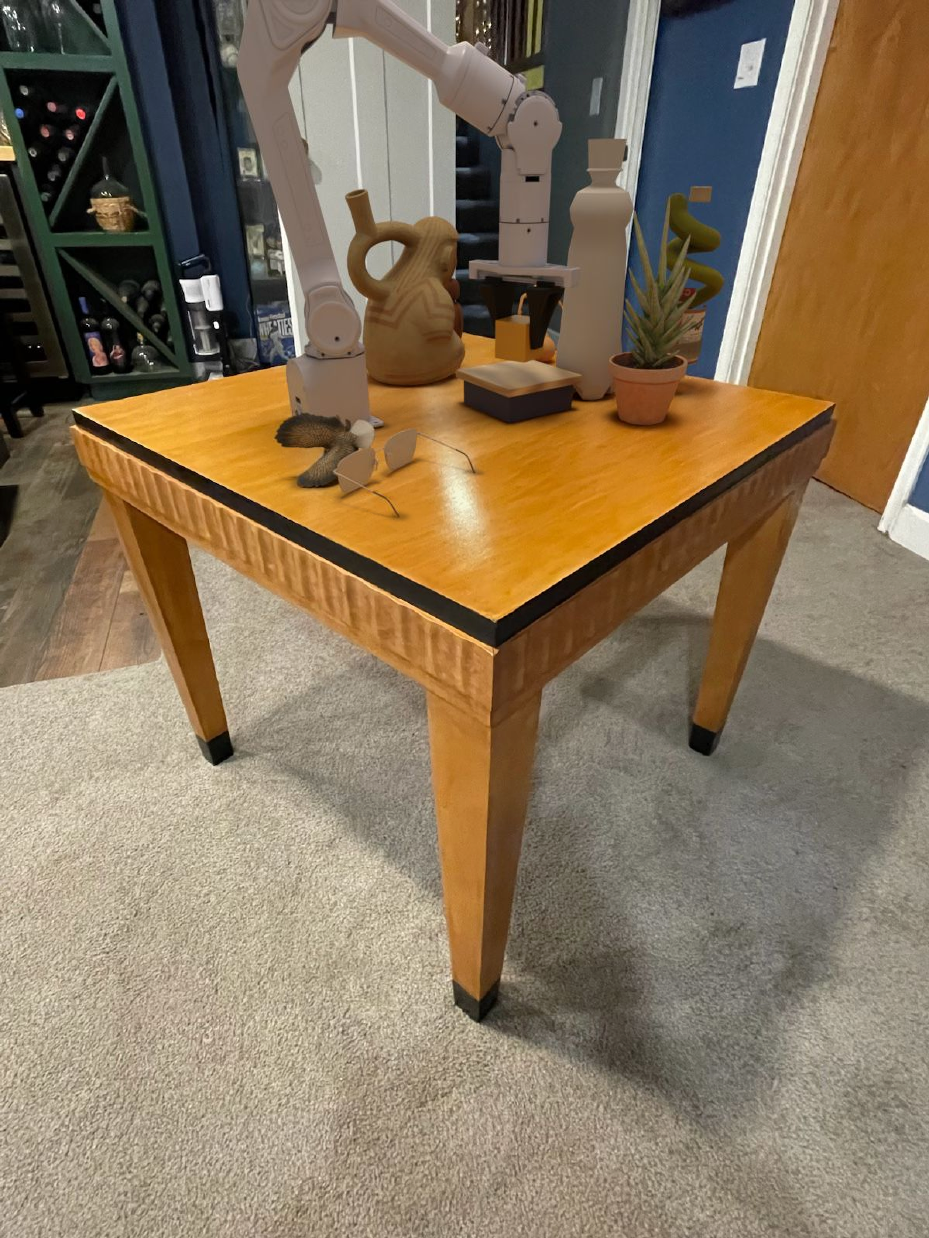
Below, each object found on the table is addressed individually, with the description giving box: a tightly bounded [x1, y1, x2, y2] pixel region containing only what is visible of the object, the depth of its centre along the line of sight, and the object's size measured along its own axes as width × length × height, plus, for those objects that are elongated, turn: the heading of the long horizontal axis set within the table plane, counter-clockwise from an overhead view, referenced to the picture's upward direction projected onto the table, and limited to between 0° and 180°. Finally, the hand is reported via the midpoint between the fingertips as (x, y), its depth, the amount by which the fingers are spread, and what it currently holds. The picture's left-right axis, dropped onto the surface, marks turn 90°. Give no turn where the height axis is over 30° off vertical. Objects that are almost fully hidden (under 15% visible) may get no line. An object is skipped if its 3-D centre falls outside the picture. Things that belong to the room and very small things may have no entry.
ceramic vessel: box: [344, 188, 466, 386], centre depth 101 cm, size 17×20×25 cm
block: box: [494, 314, 544, 363], centre depth 86 cm, size 4×4×4 cm
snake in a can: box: [665, 186, 725, 366], centre depth 94 cm, size 12×10×25 cm
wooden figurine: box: [444, 277, 464, 339], centre depth 120 cm, size 7×6×15 cm
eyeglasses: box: [333, 428, 477, 517], centre depth 70 cm, size 14×8×4 cm, turn 146°
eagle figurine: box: [273, 413, 376, 488], centre depth 73 cm, size 8×7×9 cm
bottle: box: [555, 138, 635, 401], centre depth 91 cm, size 9×9×30 cm
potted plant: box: [609, 195, 696, 426], centre depth 82 cm, size 10×10×25 cm
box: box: [455, 359, 582, 424], centre depth 92 cm, size 12×12×4 cm
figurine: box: [517, 284, 563, 363], centre depth 112 cm, size 8×6×12 cm
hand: (519, 345), depth 87 cm, fingers closed on block, 4 cm apart
